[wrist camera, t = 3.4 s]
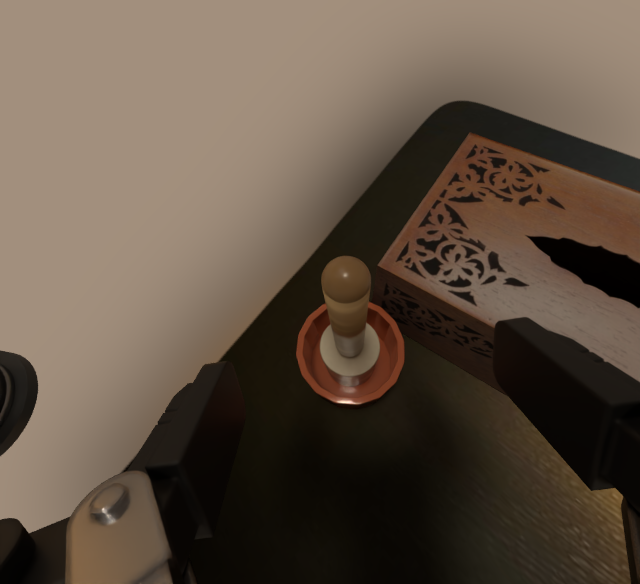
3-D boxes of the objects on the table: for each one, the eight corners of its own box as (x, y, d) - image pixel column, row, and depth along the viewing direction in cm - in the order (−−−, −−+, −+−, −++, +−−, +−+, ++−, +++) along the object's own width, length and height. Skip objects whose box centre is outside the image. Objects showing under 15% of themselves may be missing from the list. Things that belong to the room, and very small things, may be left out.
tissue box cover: (370, 313, 30) (377, 265, 21) (438, 210, 34) (469, 132, 25) (677, 497, 22) (900, 545, 13) (720, 335, 26) (914, 287, 17)
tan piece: (335, 393, 27) (306, 342, 11) (320, 346, 29) (275, 240, 12) (382, 377, 27) (426, 302, 11) (364, 331, 29) (378, 207, 13)
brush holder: (322, 421, 27) (314, 420, 21) (297, 336, 30) (285, 316, 25) (409, 391, 27) (422, 382, 22) (375, 310, 30) (379, 285, 25)
